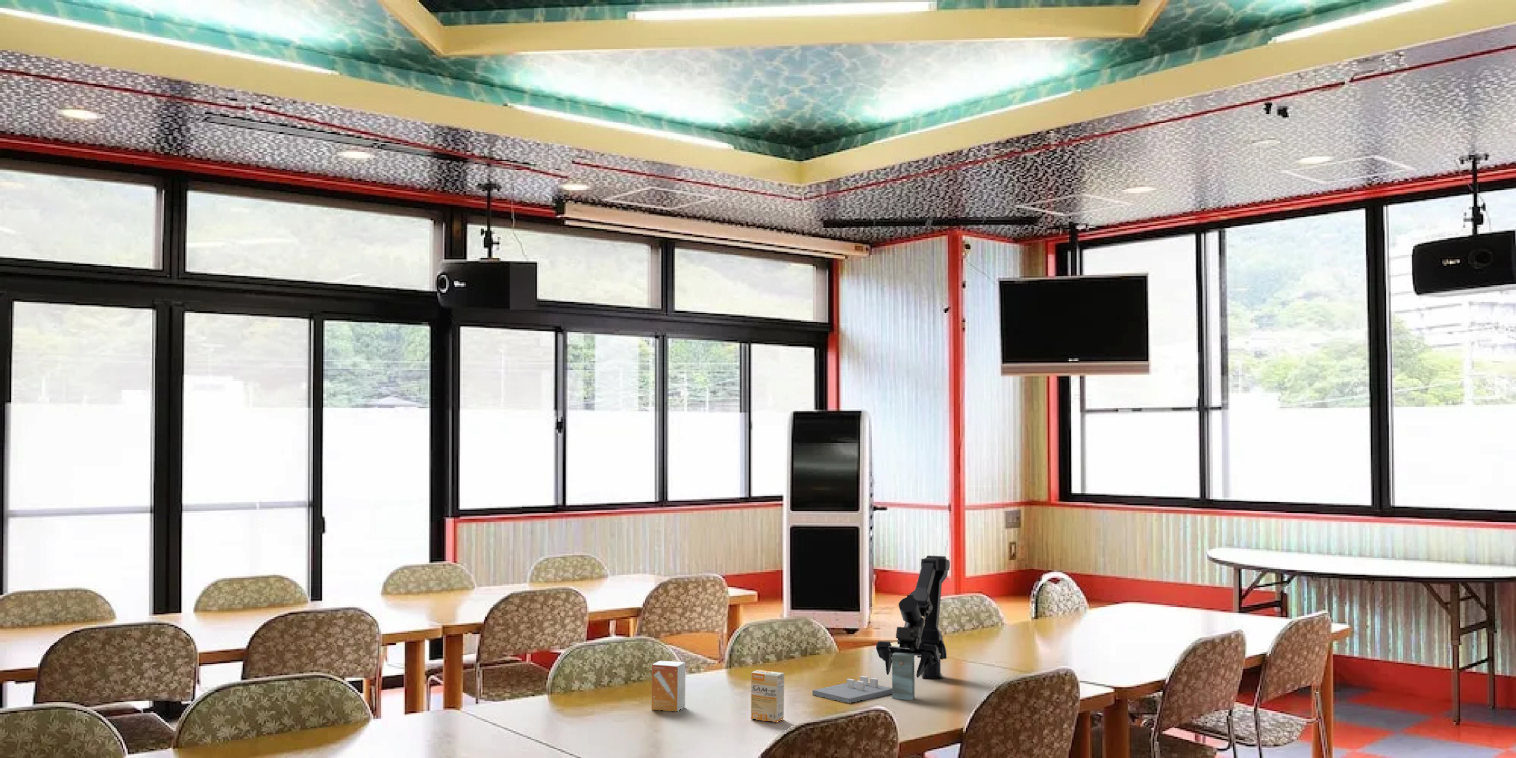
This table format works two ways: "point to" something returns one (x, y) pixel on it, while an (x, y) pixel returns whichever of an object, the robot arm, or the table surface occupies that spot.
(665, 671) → the small box
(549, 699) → the table surface
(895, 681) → the tall streaky grey pillar
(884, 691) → the base plate
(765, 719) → the supplement box
